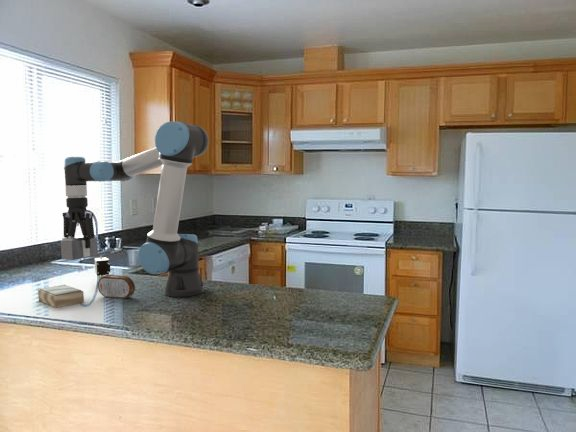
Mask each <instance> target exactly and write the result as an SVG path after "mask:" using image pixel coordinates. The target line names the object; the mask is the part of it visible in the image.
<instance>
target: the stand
mask: <svg viewBox="0 0 576 432" xmlns="http://www.w3.org/2000/svg"><path fill="white" fill-rule="evenodd" d="M37 293H38V301H39V302H42V303H44V304H46V305H48V306H51V307H53V308H55V309H56V308H61V307H66V306H71V305H77V304H81V303H85V297H84V296H85V295H84V294H85V293H84V291H83V290H81V289H79V288H77V287H72V286H70V285H66V284H60V285H55V286H54V285H53V286H49V287H42V288H39V289H38V290H37Z"/></svg>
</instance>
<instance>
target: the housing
mask: <svg viewBox="0 0 576 432" xmlns="http://www.w3.org/2000/svg"><path fill="white" fill-rule="evenodd" d="M82 239H84V238H83V234H82V235H76V236H75V237H72V236H69V237H68V238H64V237H63V238H62V239H61V240H60V250H61V251H60V253H61V254H60V255H61V260H65V261H68V260H69V261H76V260H81V259H85V258H90V257H95V256H98V255H99V252H98V237H97V236H96V235H95V234H94V238H92V239H90V256H88V257H83V245H82Z"/></svg>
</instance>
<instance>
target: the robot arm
mask: <svg viewBox="0 0 576 432" xmlns="http://www.w3.org/2000/svg"><path fill="white" fill-rule="evenodd" d="M209 138H210V137H209V135H208V132H207V131H206V130H205V129H204V128H203V127H201V126H200V125H197V124H191V123H187V122H181V121H167V122H164V123H163V124H162V125H160V126H159V127H158V128H157V130H156V132H155V135H154V145H155V147H152V148H150V149H148V150H145V151H142V152H140V153H137V154H134V155H131V156H130V157H129V156H128V157H126V158H124V159H121V160H119V161H107V160H97V161H96V160H95V161H86V158H85V157H83V156H66V157H65V158H64V162H63V163H64V164H63V165H64V167H63V170H64V179H65V196H66V197H67V198H66V199H65V201H66V202H65V203H66V207H67V208H68V211H66V212H62V217H63V238H68V237H69V236H72V237H75V235H76V231H77V227H78V225H77V224H79V227H80V231H81V233H82V235H83V238H84V239H82V245H83V257H86V258H89V257H88V256H90V239H92V238H94V235H95V231H94V228H95V227H94V212H90V211H88V210H87V207H88V206H89V205H88V198H87V196H88V190H87V189H88V188H87V187H88V185H87V182H98V183H99V182H125V181H130V180H132V179H133V178H134V177H135V176H137V175H141V174H143V173H145V172H146V173H147V172H148V171H152V170H154V169H158V168H159V167H161V169H160V178H159V185H158V192H157V197H156V198H157V200H156V205H155V212H154V219H153V226H152V230H151V231H149V232H148V233H147V236H146V241H145V243H143V244H142V245H141V246H140V247H139V249H138V252H137V258H138V262H139V265H141V268H142V269H143V270H144V271H145V272H147V273H148V274H151V275H159V274H160V275H161V274H165V273H167V278H166V281H165V285H164V288H163V289H164V290H163V291H164V295H165V296H168V297H174V298H180V297H181V298H182V297H183V298H185V297H193V296H198V295H201V294H203V293H204V292H205V286H204V282H203V279H202V277H201V274H200V267H199V240H198V236H197V235H196V234H194V233H193V234H191V233H190V234H189V233H178V229H179V224H180V223H179V222H180V218H181V217H180V215H181V211H182V206H183V205H182V204H183V199H184V198H183V197H184V191H185V185H186V178H187V172H188V168H190V166H192V164H193V162H194V161H193V160H194V158H197V157H200V156H202V155H204V153H206V151H207V150H208V147H209V143H210V140H209Z"/></svg>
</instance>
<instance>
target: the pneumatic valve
mask: <svg viewBox="0 0 576 432" xmlns="http://www.w3.org/2000/svg"><path fill="white" fill-rule="evenodd" d="M109 262H110V258H107V257H103V256H99V257H94V270H95V271H94V272H95V274H96V275H97V280H98V281H99V280H100V279H101V278H102V277H104V276H106V275H110V272H111V264H110V263H109ZM98 281H97V282H98Z"/></svg>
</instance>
